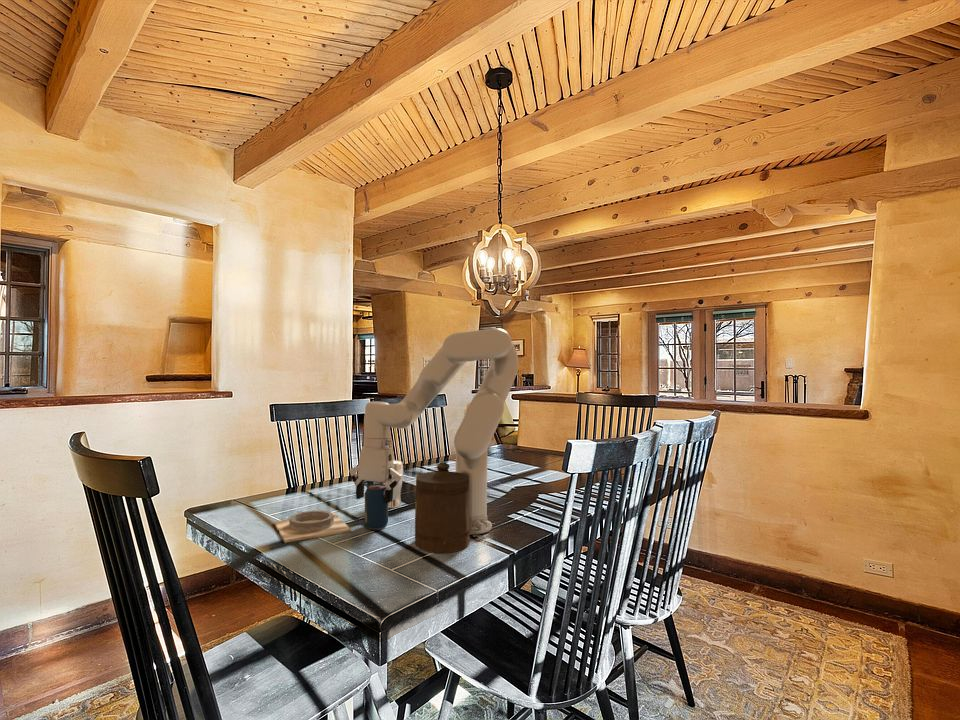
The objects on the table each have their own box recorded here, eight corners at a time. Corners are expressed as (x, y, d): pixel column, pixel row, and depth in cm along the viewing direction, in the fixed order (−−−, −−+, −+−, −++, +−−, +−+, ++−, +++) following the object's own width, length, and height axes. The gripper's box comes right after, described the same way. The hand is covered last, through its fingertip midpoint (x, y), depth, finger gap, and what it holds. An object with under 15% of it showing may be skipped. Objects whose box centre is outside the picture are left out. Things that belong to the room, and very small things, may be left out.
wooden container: (441, 530, 145) (442, 455, 145) (480, 542, 136) (481, 462, 136) (403, 544, 133) (404, 462, 134) (443, 558, 124) (444, 471, 124)
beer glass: (391, 501, 174) (391, 459, 174) (406, 504, 170) (407, 461, 171) (377, 506, 168) (378, 462, 168) (393, 509, 165) (394, 464, 165)
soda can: (392, 525, 149) (393, 485, 149) (377, 531, 143) (377, 490, 143) (375, 521, 152) (376, 482, 153) (359, 527, 146) (359, 487, 147)
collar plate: (350, 531, 143) (350, 520, 143) (284, 542, 133) (284, 530, 133) (334, 515, 158) (334, 504, 158) (274, 523, 149) (274, 513, 149)
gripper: (408, 444, 149) (405, 500, 148) (358, 438, 154) (356, 493, 154) (396, 447, 142) (393, 507, 141) (344, 442, 147) (341, 499, 147)
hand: (373, 500), depth 148 cm, fingers open, 9 cm apart
